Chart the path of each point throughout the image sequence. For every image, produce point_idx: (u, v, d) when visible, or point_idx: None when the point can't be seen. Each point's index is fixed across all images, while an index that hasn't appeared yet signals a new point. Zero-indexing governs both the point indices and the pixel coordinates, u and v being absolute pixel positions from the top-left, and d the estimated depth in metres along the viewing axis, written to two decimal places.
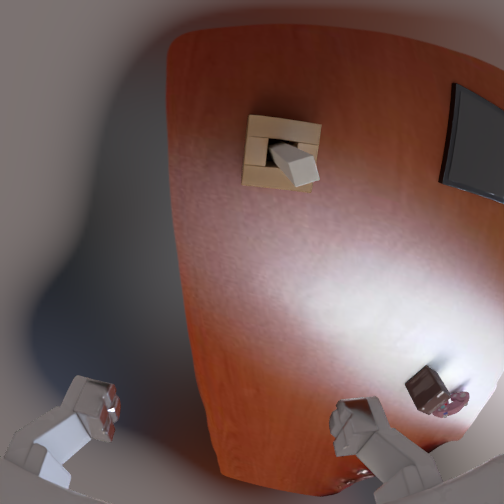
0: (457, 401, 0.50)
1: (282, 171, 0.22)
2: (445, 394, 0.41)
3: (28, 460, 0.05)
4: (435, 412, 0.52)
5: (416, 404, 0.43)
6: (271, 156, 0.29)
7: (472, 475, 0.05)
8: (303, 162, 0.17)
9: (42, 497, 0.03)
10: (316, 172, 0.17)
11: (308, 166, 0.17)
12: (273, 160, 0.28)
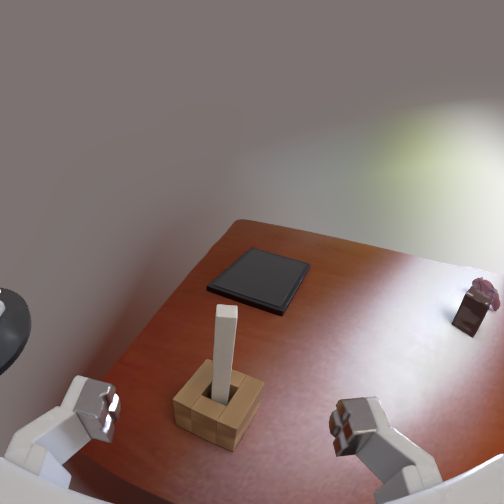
0: (481, 287, 0.57)
1: (230, 367, 0.24)
2: (469, 290, 0.47)
3: (28, 460, 0.05)
4: (496, 303, 0.52)
5: (484, 312, 0.42)
6: None
7: (472, 475, 0.05)
8: (219, 309, 0.22)
9: (42, 497, 0.03)
10: (230, 305, 0.23)
11: (224, 307, 0.23)
12: None
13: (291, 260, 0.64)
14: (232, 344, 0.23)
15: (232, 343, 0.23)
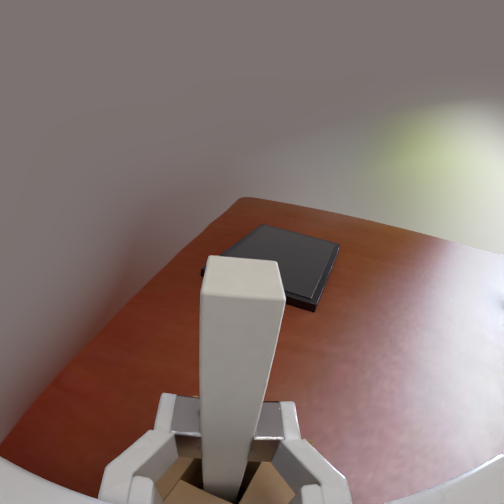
0: None
1: (249, 442, 0.08)
2: None
3: (131, 496, 0.05)
4: None
5: None
6: (226, 500, 0.11)
7: (472, 475, 0.05)
8: (217, 269, 0.06)
9: (42, 497, 0.03)
10: (255, 260, 0.07)
11: (233, 265, 0.06)
12: (233, 495, 0.10)
13: (315, 239, 0.48)
14: (260, 390, 0.07)
15: (260, 388, 0.06)
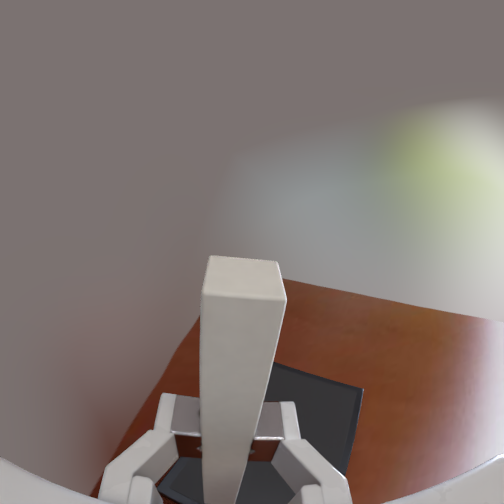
0: None
1: (249, 443, 0.08)
2: None
3: (131, 496, 0.05)
4: None
5: None
6: (225, 500, 0.11)
7: (472, 475, 0.05)
8: (218, 269, 0.06)
9: (42, 497, 0.03)
10: (256, 260, 0.07)
11: (234, 265, 0.06)
12: (233, 495, 0.10)
13: (329, 385, 0.30)
14: (260, 391, 0.07)
15: (261, 388, 0.06)
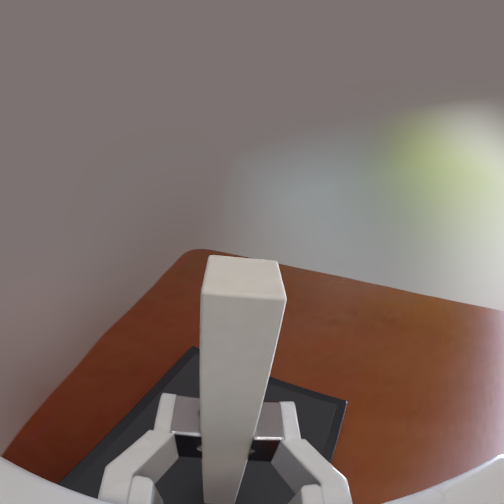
0: None
1: (249, 442, 0.08)
2: None
3: (131, 496, 0.05)
4: None
5: None
6: (225, 500, 0.11)
7: (472, 475, 0.05)
8: (217, 269, 0.06)
9: (42, 497, 0.03)
10: (256, 260, 0.07)
11: (234, 265, 0.06)
12: (232, 495, 0.10)
13: (295, 394, 0.21)
14: (260, 390, 0.07)
15: (261, 387, 0.06)
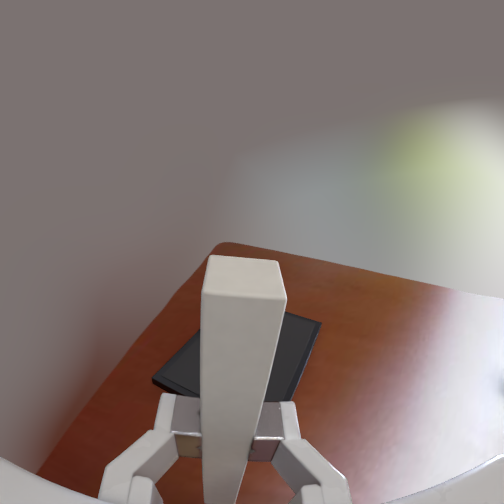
0: None
1: (250, 442, 0.08)
2: None
3: (131, 496, 0.05)
4: None
5: None
6: (225, 499, 0.11)
7: (472, 475, 0.05)
8: (218, 268, 0.06)
9: (42, 497, 0.03)
10: (256, 260, 0.07)
11: (234, 265, 0.06)
12: (233, 495, 0.10)
13: (292, 317, 0.41)
14: (261, 390, 0.07)
15: (261, 387, 0.06)
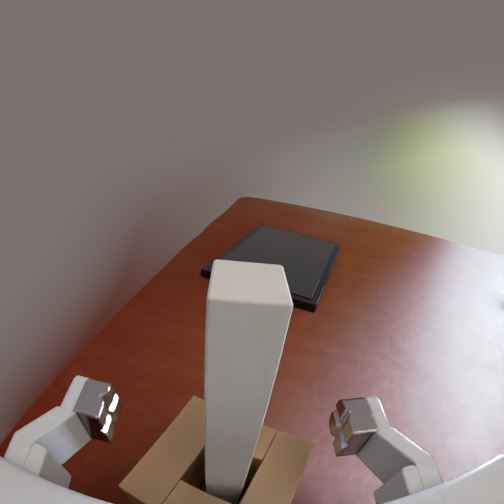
0: None
1: (253, 446, 0.08)
2: None
3: (28, 460, 0.05)
4: None
5: None
6: (228, 501, 0.11)
7: (472, 475, 0.05)
8: (223, 273, 0.06)
9: (42, 497, 0.03)
10: (261, 264, 0.07)
11: (239, 270, 0.06)
12: (235, 497, 0.10)
13: (315, 239, 0.48)
14: (265, 395, 0.06)
15: (266, 392, 0.06)
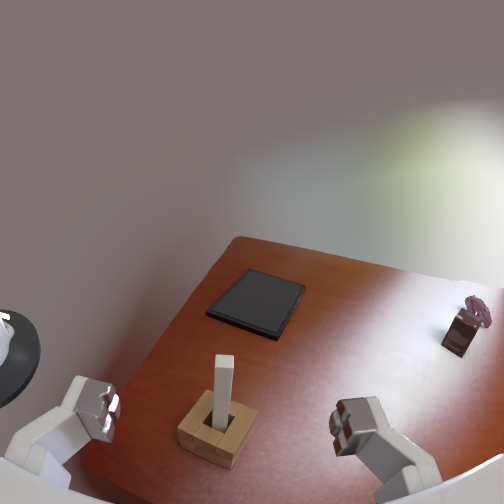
0: (473, 305, 0.59)
1: (228, 404, 0.26)
2: (459, 313, 0.49)
3: (28, 460, 0.05)
4: (487, 321, 0.54)
5: (473, 334, 0.44)
6: None
7: (472, 475, 0.05)
8: (218, 359, 0.24)
9: (42, 497, 0.03)
10: (228, 355, 0.25)
11: (222, 358, 0.25)
12: (224, 433, 0.29)
13: (287, 282, 0.67)
14: (229, 387, 0.25)
15: (229, 386, 0.25)
